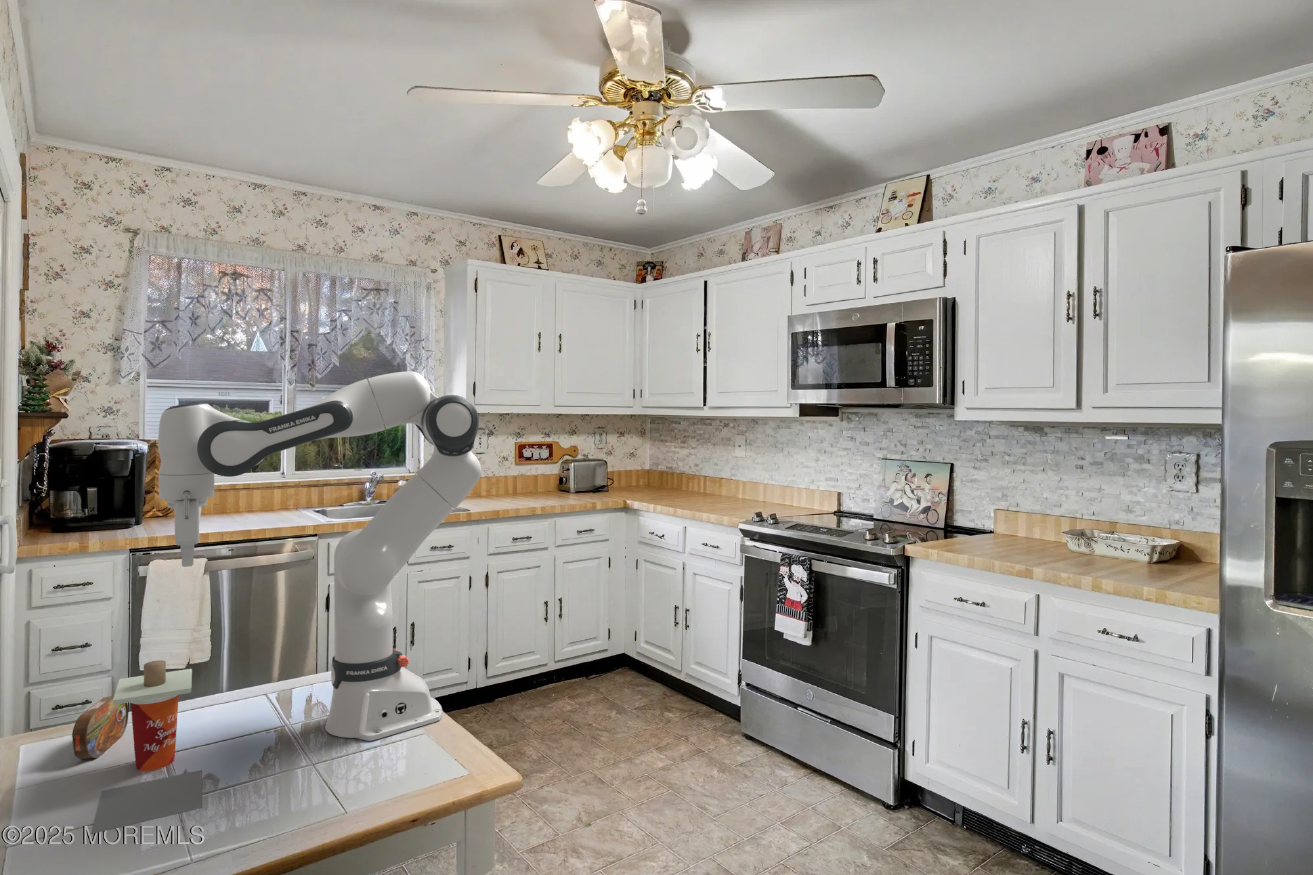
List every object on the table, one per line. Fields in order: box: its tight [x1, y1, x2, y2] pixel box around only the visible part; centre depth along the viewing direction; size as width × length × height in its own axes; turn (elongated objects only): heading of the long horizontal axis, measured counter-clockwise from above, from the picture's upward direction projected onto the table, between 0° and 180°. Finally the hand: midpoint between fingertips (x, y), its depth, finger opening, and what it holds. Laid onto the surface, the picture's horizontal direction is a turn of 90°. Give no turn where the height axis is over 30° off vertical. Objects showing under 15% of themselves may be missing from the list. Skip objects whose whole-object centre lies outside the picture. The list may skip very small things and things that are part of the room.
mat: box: [90, 769, 203, 835], centre depth 117 cm, size 14×14×1 cm
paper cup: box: [129, 695, 179, 772], centre depth 129 cm, size 8×8×14 cm
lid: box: [113, 660, 193, 705], centre depth 128 cm, size 11×11×4 cm
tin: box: [71, 695, 129, 760], centre depth 135 cm, size 15×3×8 cm, turn 13°
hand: (187, 561), depth 137 cm, fingers open, 8 cm apart
